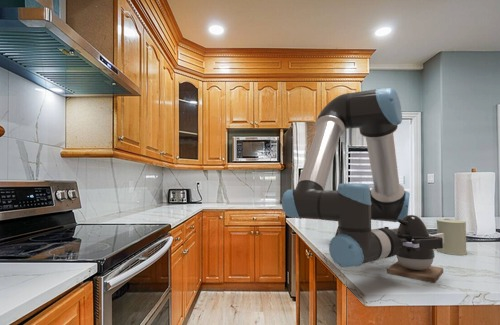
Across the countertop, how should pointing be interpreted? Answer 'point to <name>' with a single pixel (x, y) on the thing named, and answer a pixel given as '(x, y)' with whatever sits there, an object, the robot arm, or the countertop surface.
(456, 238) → the can
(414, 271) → the walnut board
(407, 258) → the pump dispenser
